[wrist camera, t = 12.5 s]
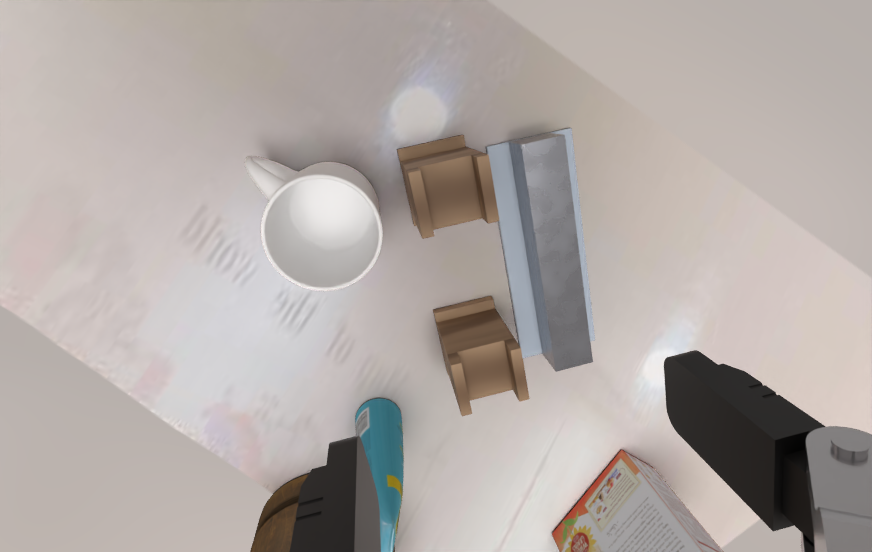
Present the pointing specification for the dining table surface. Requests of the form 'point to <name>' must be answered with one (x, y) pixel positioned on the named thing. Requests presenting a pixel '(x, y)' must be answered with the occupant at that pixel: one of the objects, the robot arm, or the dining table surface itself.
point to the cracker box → (631, 515)
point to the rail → (552, 248)
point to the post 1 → (447, 184)
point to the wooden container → (279, 519)
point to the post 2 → (479, 352)
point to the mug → (318, 222)
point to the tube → (384, 460)
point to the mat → (516, 245)
